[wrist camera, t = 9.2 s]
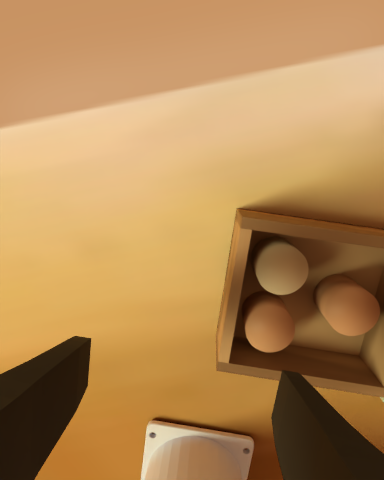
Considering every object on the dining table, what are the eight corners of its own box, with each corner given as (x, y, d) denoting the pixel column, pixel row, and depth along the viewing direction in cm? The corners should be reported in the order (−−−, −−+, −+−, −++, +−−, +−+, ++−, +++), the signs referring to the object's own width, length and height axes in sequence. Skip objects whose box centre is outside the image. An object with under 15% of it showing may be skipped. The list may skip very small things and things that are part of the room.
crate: (360, 358, 21) (392, 398, 18) (215, 335, 22) (216, 370, 18) (395, 230, 20) (440, 244, 16) (236, 208, 20) (242, 216, 16)
